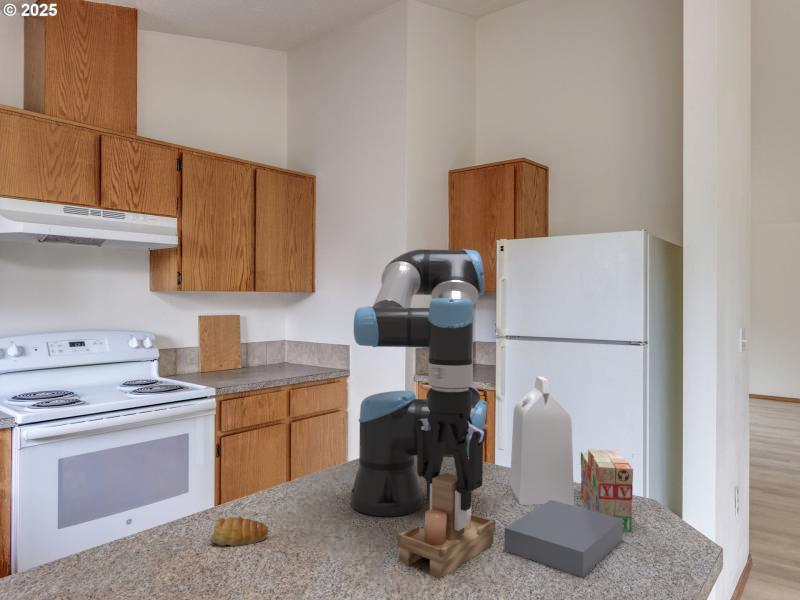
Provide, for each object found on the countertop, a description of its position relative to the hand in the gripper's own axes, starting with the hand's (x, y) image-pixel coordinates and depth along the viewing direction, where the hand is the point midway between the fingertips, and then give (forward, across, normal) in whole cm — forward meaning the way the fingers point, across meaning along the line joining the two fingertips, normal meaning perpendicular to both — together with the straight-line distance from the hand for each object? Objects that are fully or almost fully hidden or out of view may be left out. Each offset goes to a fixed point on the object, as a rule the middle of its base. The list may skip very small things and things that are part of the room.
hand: (448, 523), depth 97 cm
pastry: (+5, -32, -21) cm, 38 cm away
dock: (+5, +14, +16) cm, 22 cm away
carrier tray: (+5, 0, 0) cm, 5 cm away
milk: (+5, -1, +37) cm, 37 cm away
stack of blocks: (+5, +13, +38) cm, 40 cm away
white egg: (+2, 0, +4) cm, 4 cm away
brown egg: (+2, 0, -4) cm, 4 cm away
